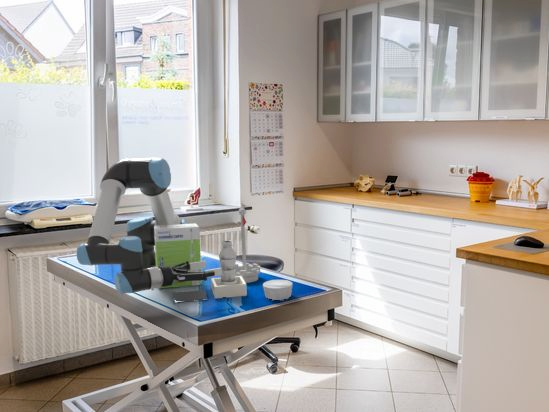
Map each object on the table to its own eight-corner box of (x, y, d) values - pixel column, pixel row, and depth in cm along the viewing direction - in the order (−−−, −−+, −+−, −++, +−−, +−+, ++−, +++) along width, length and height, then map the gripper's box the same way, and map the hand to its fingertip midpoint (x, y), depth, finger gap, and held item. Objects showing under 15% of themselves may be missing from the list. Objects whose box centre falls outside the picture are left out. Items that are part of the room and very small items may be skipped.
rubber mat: (174, 302, 214) (174, 301, 214) (173, 293, 225) (173, 292, 225) (207, 300, 216) (207, 298, 216) (204, 290, 228) (204, 289, 228)
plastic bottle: (220, 290, 228) (218, 240, 225) (237, 289, 228) (235, 239, 225) (220, 295, 221) (217, 243, 218) (237, 294, 222) (235, 243, 219)
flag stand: (225, 277, 247) (222, 207, 243) (254, 273, 251) (252, 204, 247) (234, 285, 235) (231, 211, 230) (264, 281, 239) (262, 208, 235)
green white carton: (198, 278, 246) (196, 222, 242) (202, 285, 236) (199, 226, 232) (156, 282, 241) (153, 225, 238) (158, 289, 231) (154, 229, 228)
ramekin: (270, 303, 210) (269, 289, 210) (258, 295, 220) (258, 281, 220) (298, 299, 215) (297, 285, 214) (285, 291, 225) (285, 277, 224)
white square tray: (215, 298, 218) (214, 286, 217) (211, 289, 229) (211, 278, 229) (246, 295, 220) (246, 284, 220) (241, 286, 232) (241, 275, 231)
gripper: (148, 279, 220) (199, 270, 231) (173, 295, 199) (228, 284, 210) (147, 260, 219) (199, 252, 229) (172, 274, 197) (228, 264, 208)
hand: (213, 267), depth 220 cm, fingers open, 13 cm apart
